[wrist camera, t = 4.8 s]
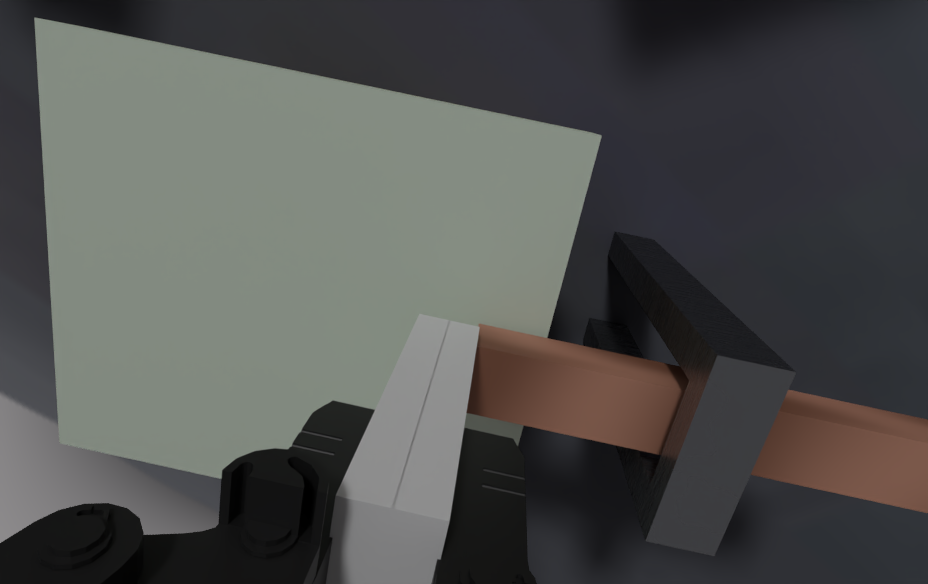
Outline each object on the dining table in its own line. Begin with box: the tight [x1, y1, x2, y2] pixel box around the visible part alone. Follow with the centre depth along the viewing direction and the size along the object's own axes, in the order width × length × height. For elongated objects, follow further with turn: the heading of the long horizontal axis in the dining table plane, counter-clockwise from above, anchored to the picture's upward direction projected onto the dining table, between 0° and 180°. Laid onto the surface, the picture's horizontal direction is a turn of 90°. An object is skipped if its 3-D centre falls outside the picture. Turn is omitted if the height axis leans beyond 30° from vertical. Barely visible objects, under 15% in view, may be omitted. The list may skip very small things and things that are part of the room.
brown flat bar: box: [466, 324, 928, 513], centre depth 14 cm, size 12×2×1 cm, turn 79°
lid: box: [34, 18, 602, 479], centre depth 16 cm, size 14×12×3 cm
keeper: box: [583, 232, 796, 556], centre depth 17 cm, size 2×5×12 cm, turn 169°
